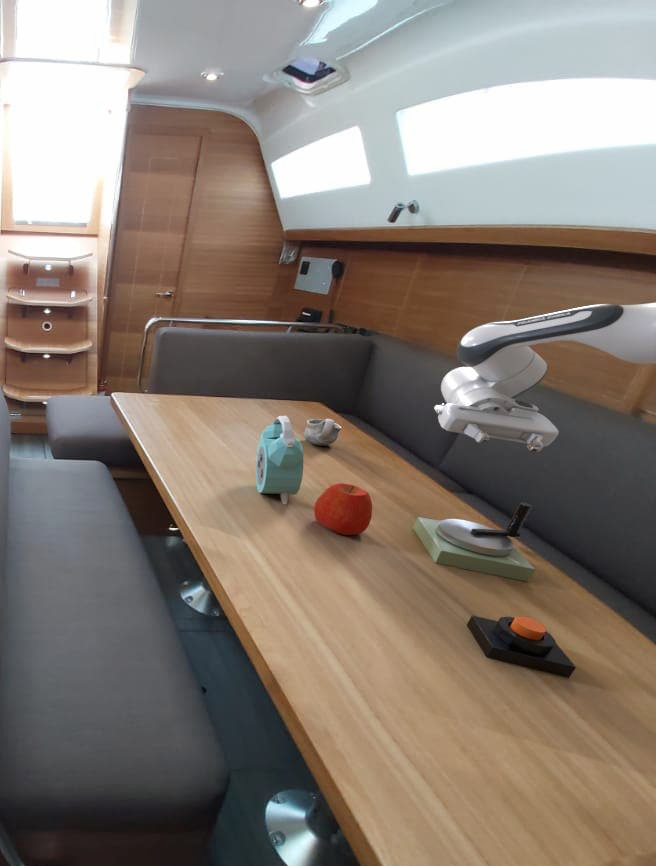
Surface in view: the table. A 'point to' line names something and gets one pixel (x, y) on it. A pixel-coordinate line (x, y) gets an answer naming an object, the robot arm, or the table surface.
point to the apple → (344, 509)
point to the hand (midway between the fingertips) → (510, 444)
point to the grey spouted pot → (321, 431)
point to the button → (528, 628)
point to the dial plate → (470, 554)
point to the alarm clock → (279, 460)
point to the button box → (519, 646)
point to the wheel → (483, 533)
